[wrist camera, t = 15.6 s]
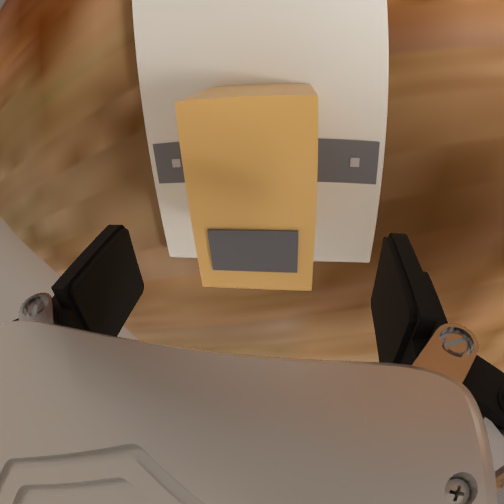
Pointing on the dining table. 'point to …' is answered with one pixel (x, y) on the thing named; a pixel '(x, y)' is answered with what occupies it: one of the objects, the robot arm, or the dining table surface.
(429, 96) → the dining table surface
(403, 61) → the dining table surface
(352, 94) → the white flat panel
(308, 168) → the tan rectangular block
